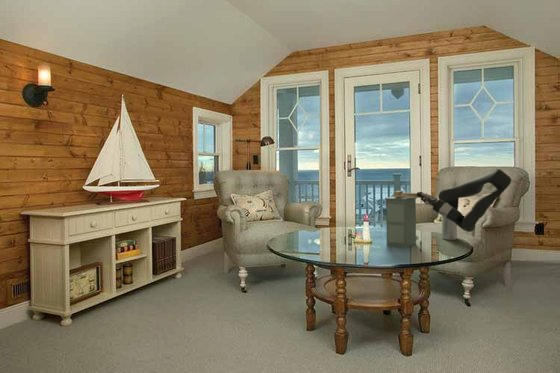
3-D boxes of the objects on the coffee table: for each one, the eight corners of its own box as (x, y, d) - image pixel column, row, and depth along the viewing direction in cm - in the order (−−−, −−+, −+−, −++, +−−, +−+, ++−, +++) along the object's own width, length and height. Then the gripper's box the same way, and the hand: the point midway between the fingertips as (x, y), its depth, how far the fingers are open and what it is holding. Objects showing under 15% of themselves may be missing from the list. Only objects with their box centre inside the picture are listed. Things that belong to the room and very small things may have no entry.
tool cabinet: (396, 241, 272) (396, 196, 270) (417, 243, 262) (416, 196, 261) (385, 245, 261) (385, 198, 259) (406, 248, 251) (406, 198, 249)
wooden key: (397, 196, 264) (397, 190, 264) (428, 197, 251) (428, 191, 250) (393, 196, 260) (393, 191, 260) (424, 198, 247) (424, 192, 247)
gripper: (450, 202, 246) (426, 187, 256) (441, 204, 236) (416, 188, 245) (444, 212, 249) (420, 197, 259) (435, 215, 239) (410, 199, 248)
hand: (418, 193), depth 252 cm, fingers closed on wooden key, 3 cm apart
